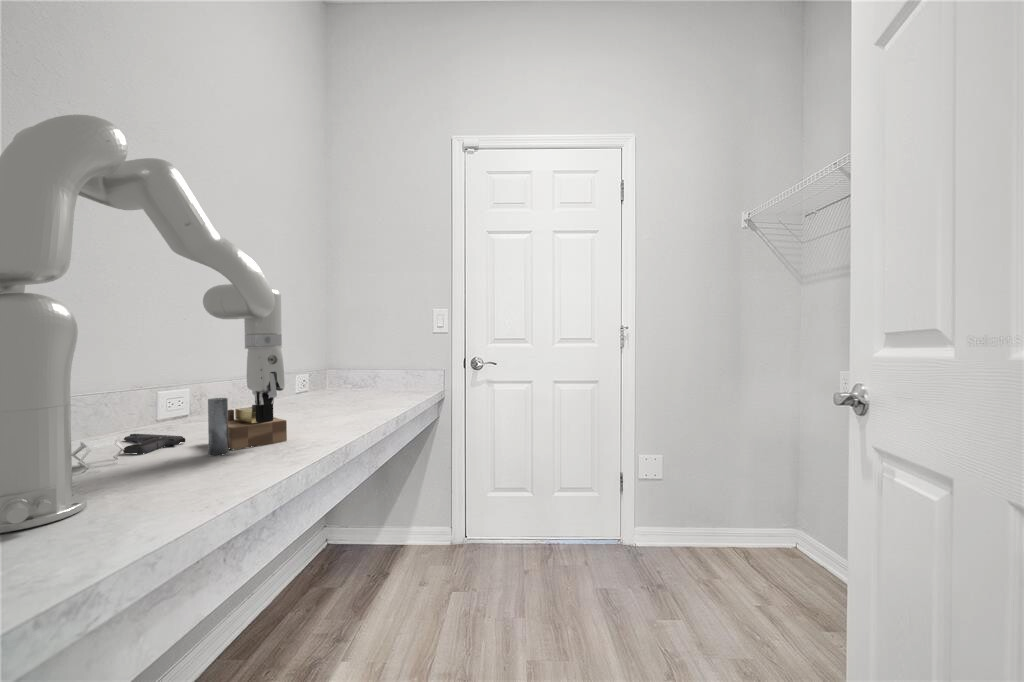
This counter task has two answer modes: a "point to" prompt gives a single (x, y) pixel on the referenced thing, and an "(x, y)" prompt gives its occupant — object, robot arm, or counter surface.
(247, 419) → the bar
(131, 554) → the counter surface
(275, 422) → the dock
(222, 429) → the peg
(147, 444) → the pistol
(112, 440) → the white folding stand
